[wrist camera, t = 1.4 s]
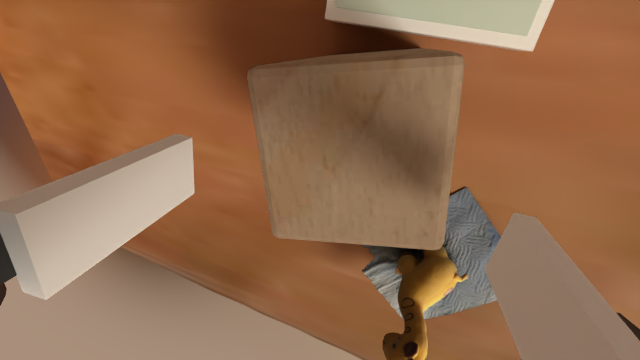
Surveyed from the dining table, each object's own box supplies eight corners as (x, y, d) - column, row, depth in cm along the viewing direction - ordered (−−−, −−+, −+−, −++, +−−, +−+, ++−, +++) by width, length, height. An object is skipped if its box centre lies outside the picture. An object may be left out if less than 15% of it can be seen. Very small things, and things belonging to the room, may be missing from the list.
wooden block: (332, 144, 36) (270, 240, 18) (327, 55, 32) (241, 67, 14) (418, 143, 33) (444, 255, 16) (425, 47, 29) (468, 51, 12)
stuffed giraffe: (344, 247, 42) (318, 348, 28) (465, 184, 34) (513, 281, 20) (407, 322, 45) (412, 448, 31) (531, 280, 38) (612, 422, 23)
